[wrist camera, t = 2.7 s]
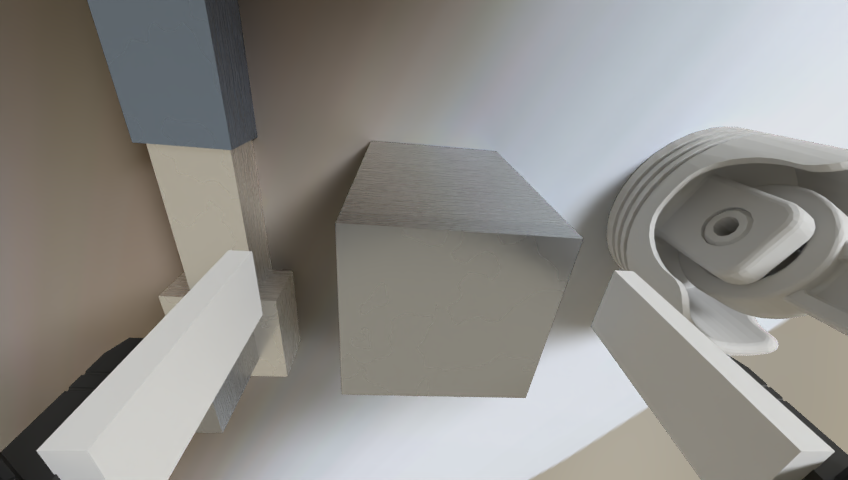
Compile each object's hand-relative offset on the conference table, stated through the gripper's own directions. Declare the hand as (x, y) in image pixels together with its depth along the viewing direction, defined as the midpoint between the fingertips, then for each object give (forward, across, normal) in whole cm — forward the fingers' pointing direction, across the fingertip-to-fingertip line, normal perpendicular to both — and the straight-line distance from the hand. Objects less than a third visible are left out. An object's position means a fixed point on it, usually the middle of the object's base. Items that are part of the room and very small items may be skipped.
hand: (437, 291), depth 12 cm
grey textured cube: (+8, 0, 0) cm, 8 cm away
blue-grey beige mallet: (+8, -11, +1) cm, 13 cm away
